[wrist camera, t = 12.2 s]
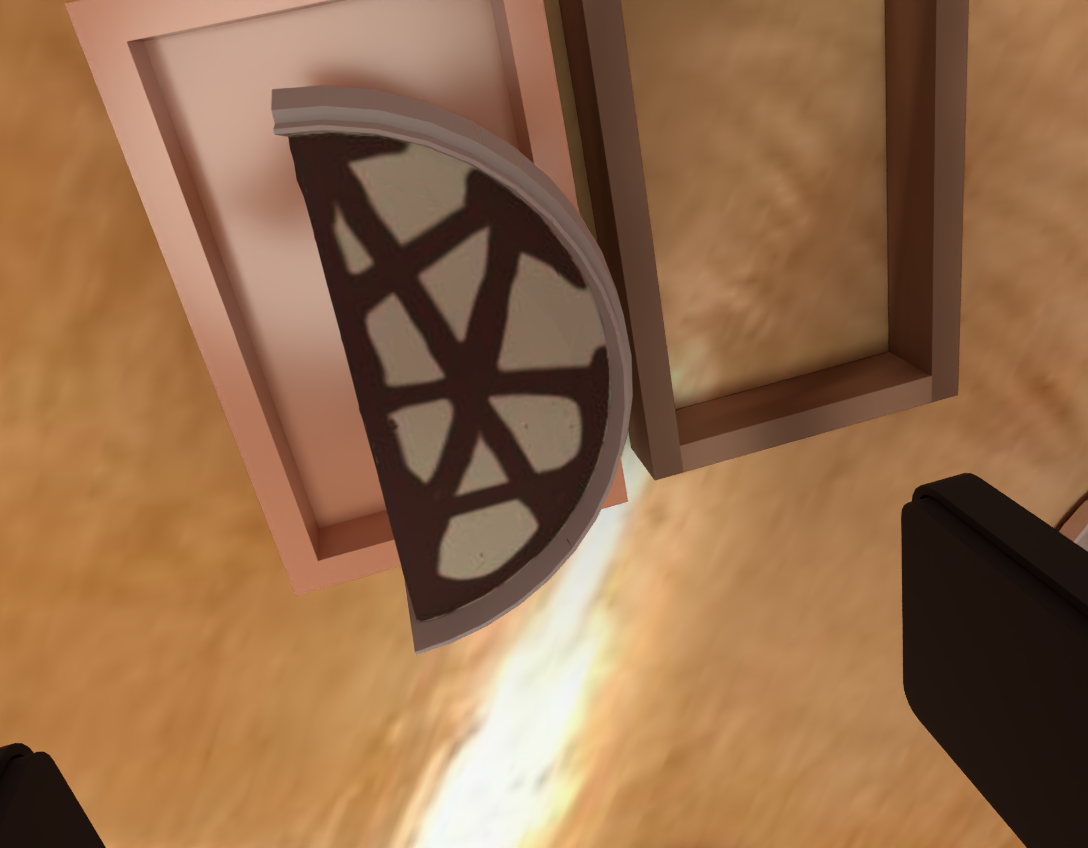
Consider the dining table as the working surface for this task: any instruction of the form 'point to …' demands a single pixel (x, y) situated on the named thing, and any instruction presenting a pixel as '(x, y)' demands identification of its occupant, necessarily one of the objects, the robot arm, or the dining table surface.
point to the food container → (464, 344)
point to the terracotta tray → (297, 213)
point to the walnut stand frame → (913, 245)
